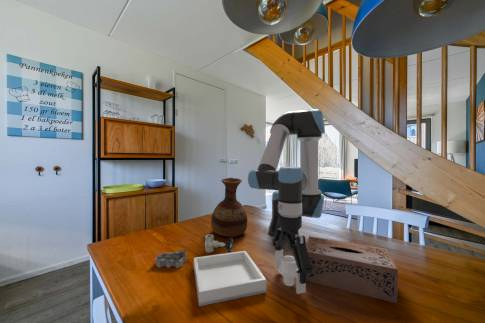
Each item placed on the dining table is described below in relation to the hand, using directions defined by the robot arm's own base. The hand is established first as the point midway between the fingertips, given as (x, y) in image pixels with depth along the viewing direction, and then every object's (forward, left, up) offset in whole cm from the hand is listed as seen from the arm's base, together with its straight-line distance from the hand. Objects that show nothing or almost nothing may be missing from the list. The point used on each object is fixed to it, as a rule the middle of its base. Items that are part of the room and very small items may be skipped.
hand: (288, 279), depth 67 cm
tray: (+19, -8, -1) cm, 21 cm away
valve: (+18, -29, -2) cm, 34 cm away
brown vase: (+8, -49, -2) cm, 50 cm away
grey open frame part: (+37, -25, -2) cm, 44 cm away
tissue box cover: (-20, +3, -2) cm, 20 cm away
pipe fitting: (0, 0, -2) cm, 2 cm away
